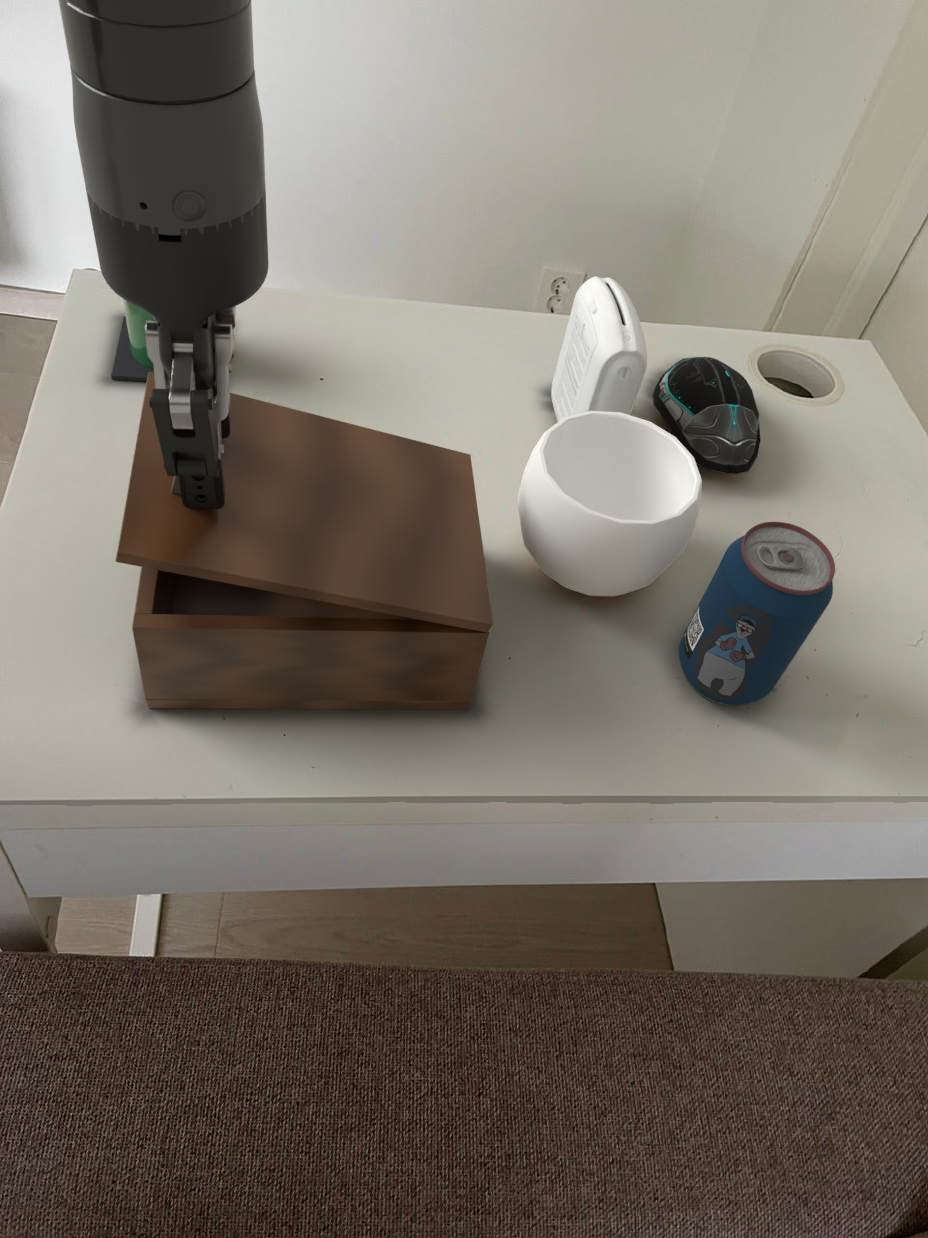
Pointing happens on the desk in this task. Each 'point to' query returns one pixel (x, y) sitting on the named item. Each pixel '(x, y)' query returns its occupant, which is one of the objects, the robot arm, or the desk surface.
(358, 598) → the lid
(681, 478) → the cup
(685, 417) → the computer mouse
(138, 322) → the green pot
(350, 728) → the desk surface
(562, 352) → the photo printer
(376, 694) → the wooden box
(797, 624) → the soda can
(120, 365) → the mat
